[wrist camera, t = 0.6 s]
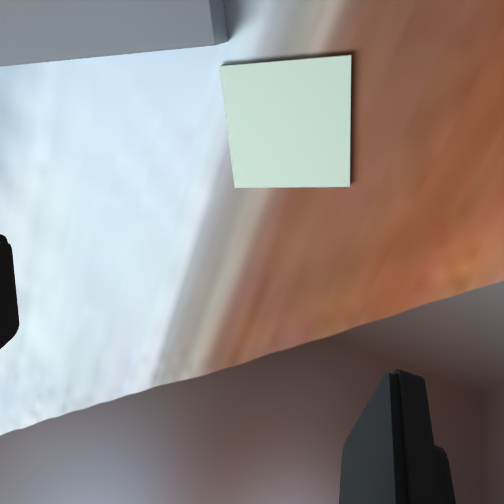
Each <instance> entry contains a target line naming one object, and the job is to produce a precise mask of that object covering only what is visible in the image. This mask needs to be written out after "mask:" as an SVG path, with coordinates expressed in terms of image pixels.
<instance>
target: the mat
mask: <svg viewBox="0 0 504 504" xmlns="http://www.w3.org/2000/svg"><path fill="white" fill-rule="evenodd" d="M219 69H220V77H221V84H222V92H223V100H224V108H225V115H226V123H227V131H228V139H229V146H230V154H231V162H232V170H233V177H234V185H235V188H246V187H350V136H351V55H341V56H329V57H317V58H306V59H294V60H282V61H270V62H259V63H247V64H235V65H224V66H219Z"/></svg>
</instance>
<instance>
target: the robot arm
mask: <svg viewBox="0 0 504 504" xmlns="http://www.w3.org/2000/svg"><path fill="white" fill-rule="evenodd" d="M18 328H19V316H18V305H17V295H16V285H15V275H14V265H13V255H12V248H11V245H10V244H9V243H8V242H7V239H6V237H5V236H3V235H1V234H0V349H1V348H2V347H3V346H4V345H5V344H6V343H7V342H9V341H10V340H11V339H12V338H13V337H14V336H15V334H16V332H17V330H18ZM339 504H456V503H455V496H454V490H453V485H452V479H451V474H450V467H449V461H448V458H447V454H446V452H445V451H444V449H443V448H441V447H438V446H436V445H434V440H433V434H432V427H431V420H430V413H429V406H428V400H427V393H426V386H425V381H424V379H423V378H422V377H420V376H417V375H414V374H411V373H408V372H405V371H403V370H400V369H396V370H395V371H394V372H393V374H391V373H388V372H386V373H385V374H384V376H383V377H382V379H381V381H380V382H379V384H378V386H377V388H376V389H375V391H374V393H373V395H372V396H371V398H370V400H369V402H368V403H367V405H366V407H365V408H364V410H363V412H362V414H361V415H360V417H359V419H358V421H357V422H356V424H355V426H354V427H353V429H352V431H351V433H350V434H349V436H348V438H347V440H346V442H345V444H344V448H343V452H342V463H341V479H340V496H339Z"/></svg>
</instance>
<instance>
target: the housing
mask: <svg viewBox="0 0 504 504" xmlns="http://www.w3.org/2000/svg"><path fill="white" fill-rule="evenodd" d="M224 42H228V33H227V24H226V15H225V7H224V0H0V66H10V65H20V64H30V63H40V62H50V61H61V60H71V59H81V58H91V57H101V56H111V55H121V54H131V53H141V52H151V51H162V50H172V49H182V48H192V47H202V46H212V45H217V44H221V43H224Z"/></svg>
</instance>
